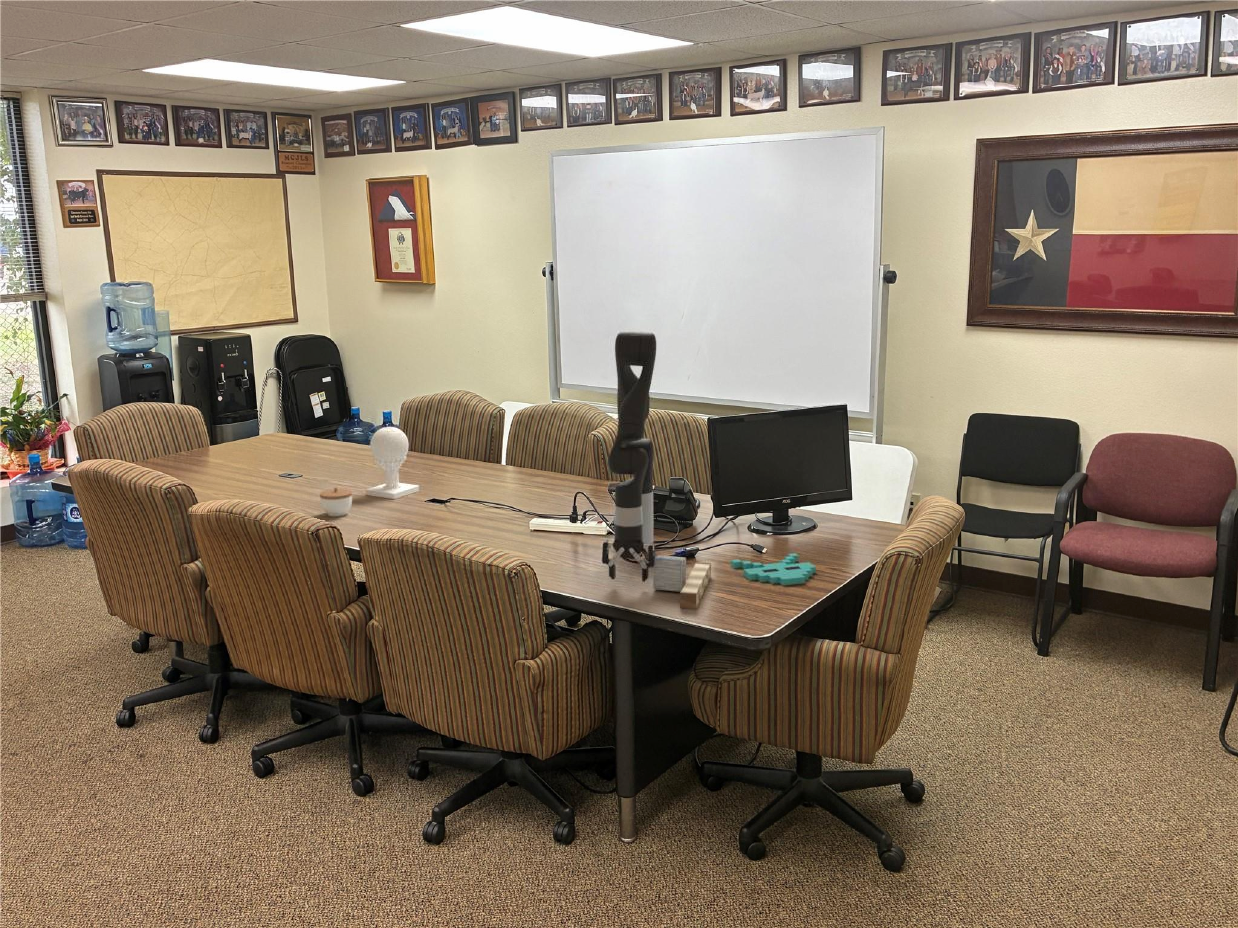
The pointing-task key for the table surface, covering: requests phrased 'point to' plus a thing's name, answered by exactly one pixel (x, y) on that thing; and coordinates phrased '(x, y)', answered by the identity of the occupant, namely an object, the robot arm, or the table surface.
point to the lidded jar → (336, 501)
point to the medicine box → (669, 573)
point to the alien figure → (777, 570)
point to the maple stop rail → (695, 585)
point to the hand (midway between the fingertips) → (628, 579)
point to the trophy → (390, 462)
